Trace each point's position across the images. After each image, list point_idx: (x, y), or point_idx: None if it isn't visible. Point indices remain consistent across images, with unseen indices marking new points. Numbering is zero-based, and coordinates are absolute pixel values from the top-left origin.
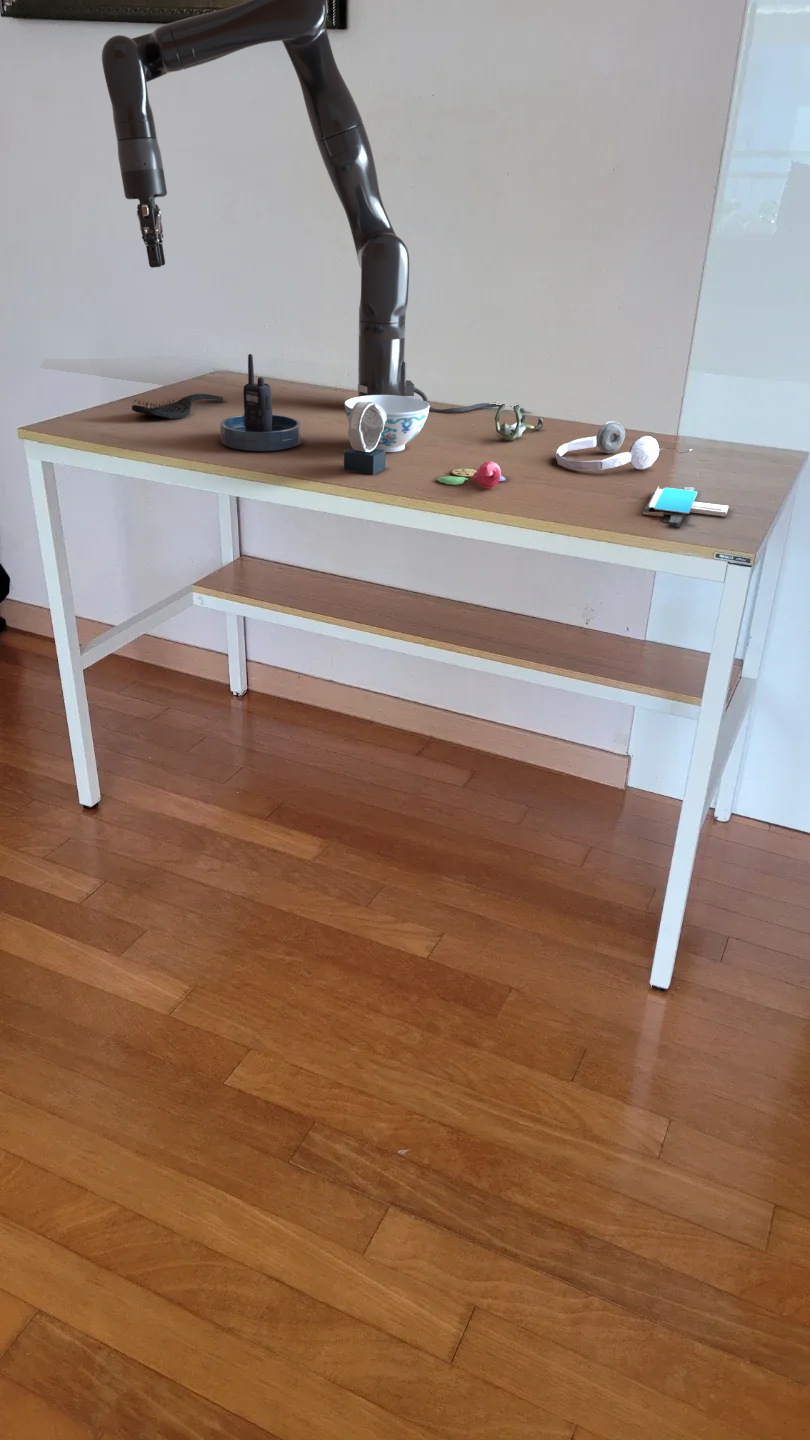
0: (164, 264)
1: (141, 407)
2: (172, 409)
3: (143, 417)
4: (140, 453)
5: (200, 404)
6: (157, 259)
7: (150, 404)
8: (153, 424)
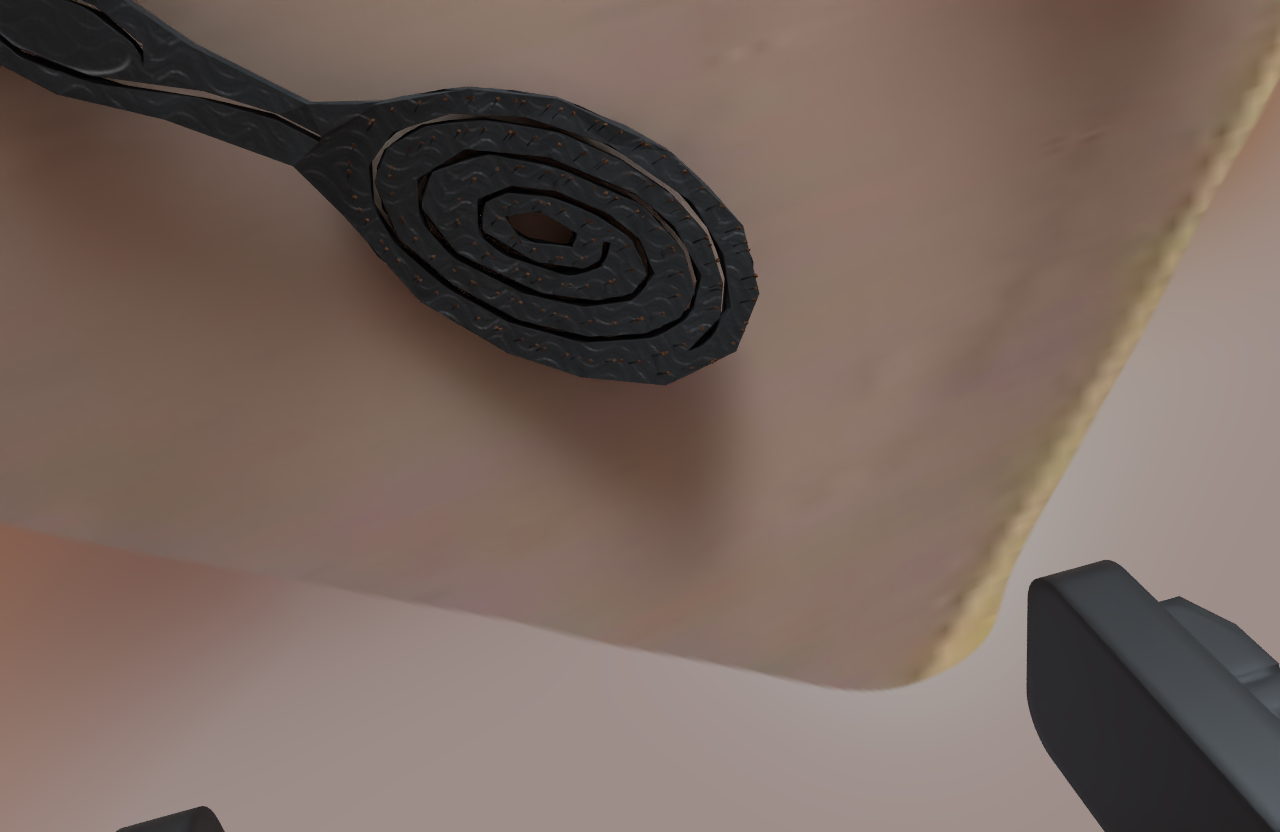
0: (202, 806)
1: (754, 303)
2: (473, 197)
3: None
4: (1266, 100)
5: None
6: (1245, 648)
7: (556, 314)
8: None
